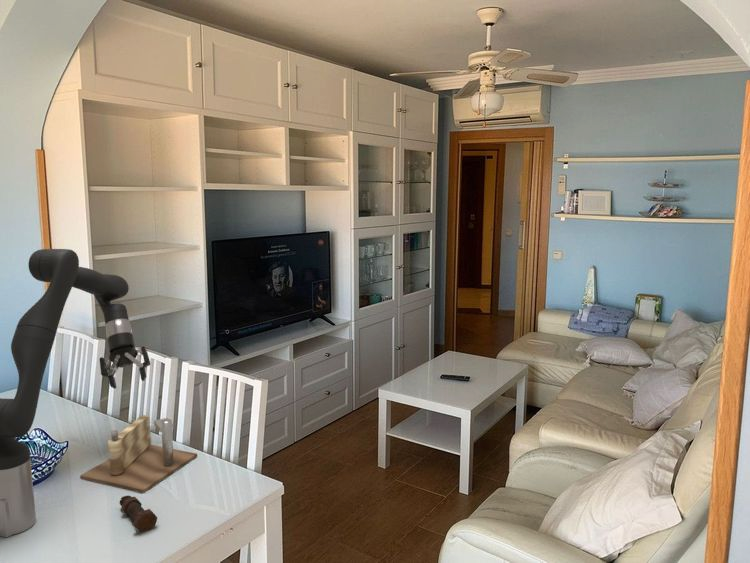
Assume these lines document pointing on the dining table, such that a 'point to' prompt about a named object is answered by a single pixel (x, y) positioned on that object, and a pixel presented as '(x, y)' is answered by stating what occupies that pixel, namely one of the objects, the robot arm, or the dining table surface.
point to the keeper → (166, 440)
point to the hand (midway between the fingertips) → (129, 384)
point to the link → (129, 444)
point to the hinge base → (139, 469)
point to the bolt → (138, 514)
